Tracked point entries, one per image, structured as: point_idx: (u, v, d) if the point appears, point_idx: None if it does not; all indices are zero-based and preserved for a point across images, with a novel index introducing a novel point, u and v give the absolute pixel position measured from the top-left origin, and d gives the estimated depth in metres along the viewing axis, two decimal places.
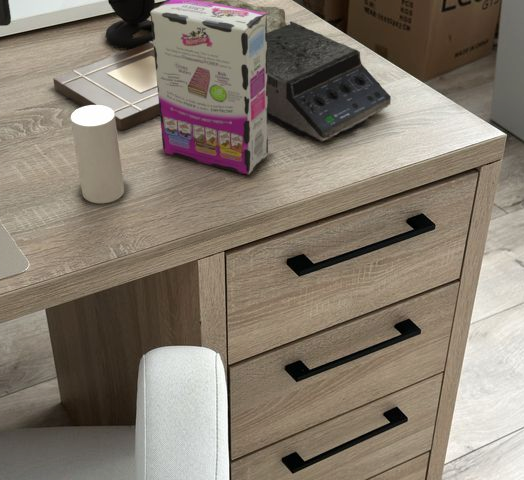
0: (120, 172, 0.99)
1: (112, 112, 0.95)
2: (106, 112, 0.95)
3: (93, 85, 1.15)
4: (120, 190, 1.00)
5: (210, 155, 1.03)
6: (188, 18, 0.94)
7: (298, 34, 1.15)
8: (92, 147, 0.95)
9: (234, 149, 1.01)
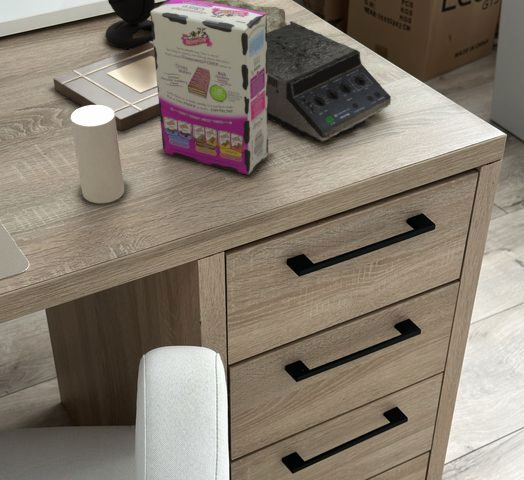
0: (120, 172, 0.99)
1: (112, 112, 0.95)
2: (106, 112, 0.95)
3: (93, 85, 1.15)
4: (120, 190, 1.00)
5: (210, 155, 1.03)
6: (188, 18, 0.94)
7: (298, 34, 1.15)
8: (92, 147, 0.95)
9: (234, 149, 1.01)
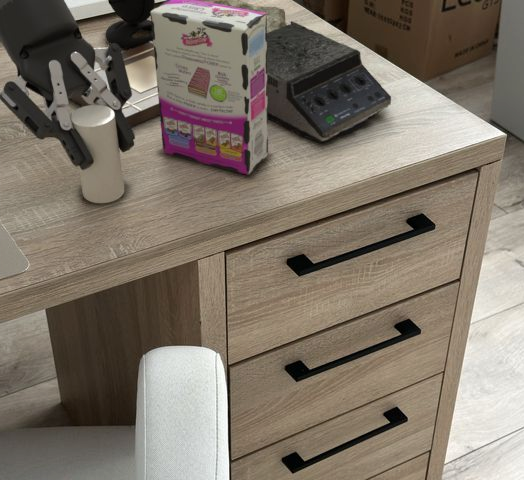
0: (120, 172, 0.99)
1: (112, 112, 0.95)
2: (106, 112, 0.95)
3: None
4: (120, 190, 1.00)
5: (210, 155, 1.03)
6: (188, 18, 0.94)
7: (299, 34, 1.15)
8: (92, 147, 0.95)
9: (234, 149, 1.01)
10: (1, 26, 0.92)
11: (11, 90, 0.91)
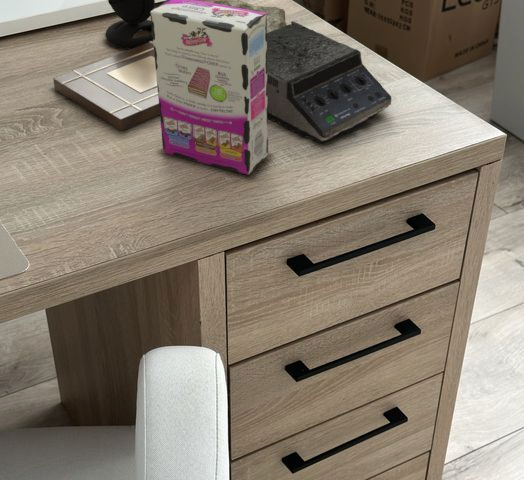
0: None
1: None
2: None
3: (93, 85, 1.15)
4: None
5: (210, 155, 1.03)
6: (188, 18, 0.94)
7: (299, 34, 1.15)
8: None
9: (234, 149, 1.01)
10: None
11: None
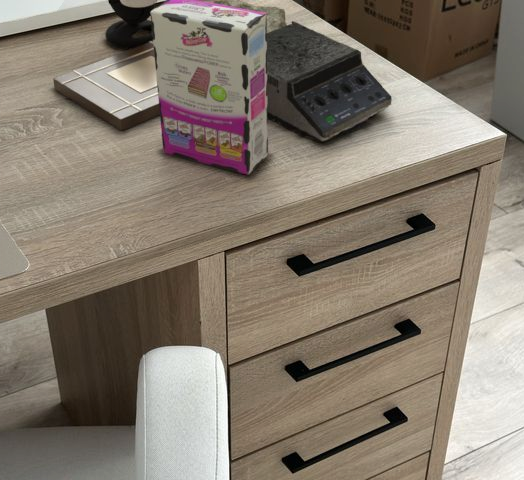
0: None
1: None
2: None
3: (93, 85, 1.15)
4: None
5: (210, 155, 1.03)
6: (188, 18, 0.94)
7: (300, 34, 1.15)
8: None
9: (234, 149, 1.01)
10: None
11: None
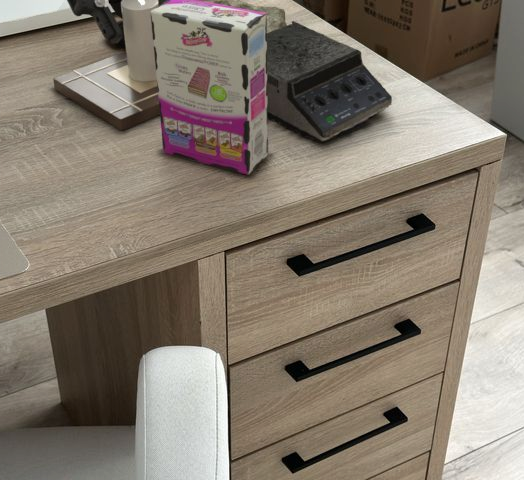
0: None
1: None
2: None
3: (93, 85, 1.15)
4: None
5: (210, 155, 1.03)
6: (188, 18, 0.94)
7: (300, 34, 1.15)
8: (139, 29, 1.11)
9: (234, 149, 1.01)
10: None
11: None
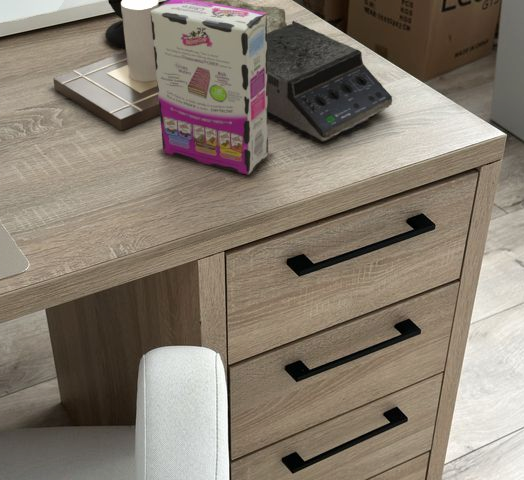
0: None
1: None
2: None
3: (93, 85, 1.15)
4: None
5: (210, 155, 1.03)
6: (188, 18, 0.94)
7: (300, 34, 1.15)
8: (139, 29, 1.11)
9: (234, 149, 1.01)
10: None
11: None
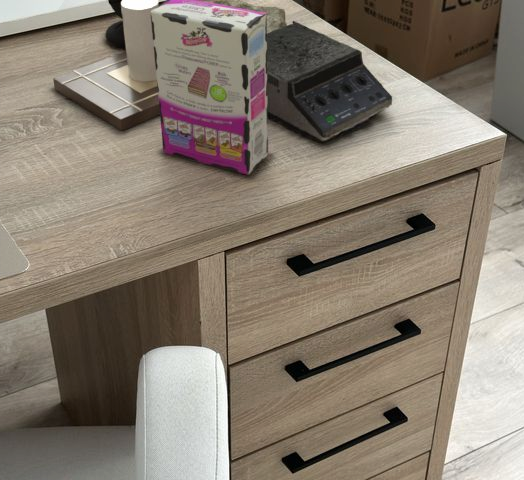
0: None
1: None
2: None
3: (93, 85, 1.15)
4: None
5: (210, 155, 1.03)
6: (188, 18, 0.94)
7: (301, 34, 1.15)
8: (139, 29, 1.11)
9: (234, 149, 1.01)
10: None
11: None
